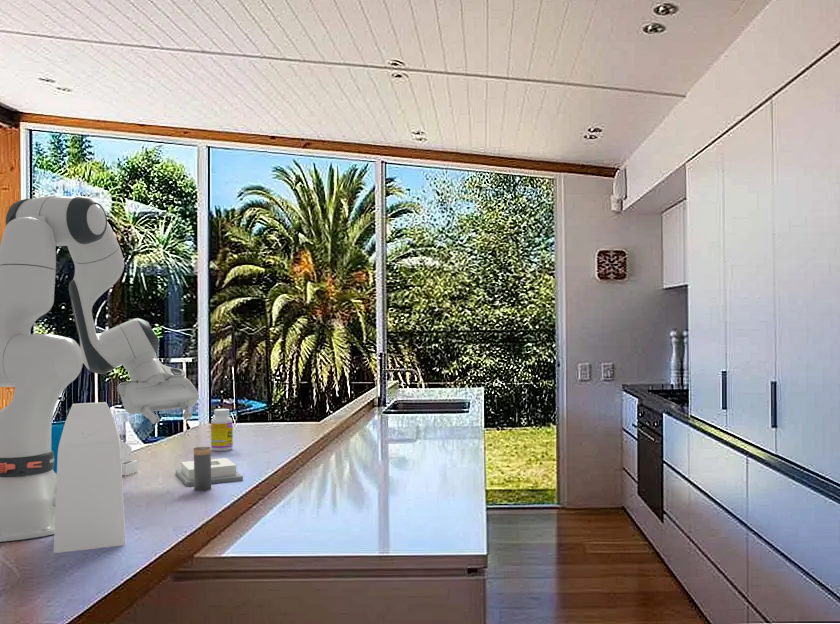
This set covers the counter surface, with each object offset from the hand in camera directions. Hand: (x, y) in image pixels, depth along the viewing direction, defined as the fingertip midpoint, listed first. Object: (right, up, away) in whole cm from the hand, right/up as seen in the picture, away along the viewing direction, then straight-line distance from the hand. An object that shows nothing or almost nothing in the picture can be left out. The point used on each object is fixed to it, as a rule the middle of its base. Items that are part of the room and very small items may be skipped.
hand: (173, 420), depth 197 cm
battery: (+10, -16, -8) cm, 20 cm away
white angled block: (-17, -17, +13) cm, 27 cm away
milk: (+1, -16, -51) cm, 54 cm away
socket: (+7, -16, +6) cm, 19 cm away
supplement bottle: (0, -17, +49) cm, 51 cm away
